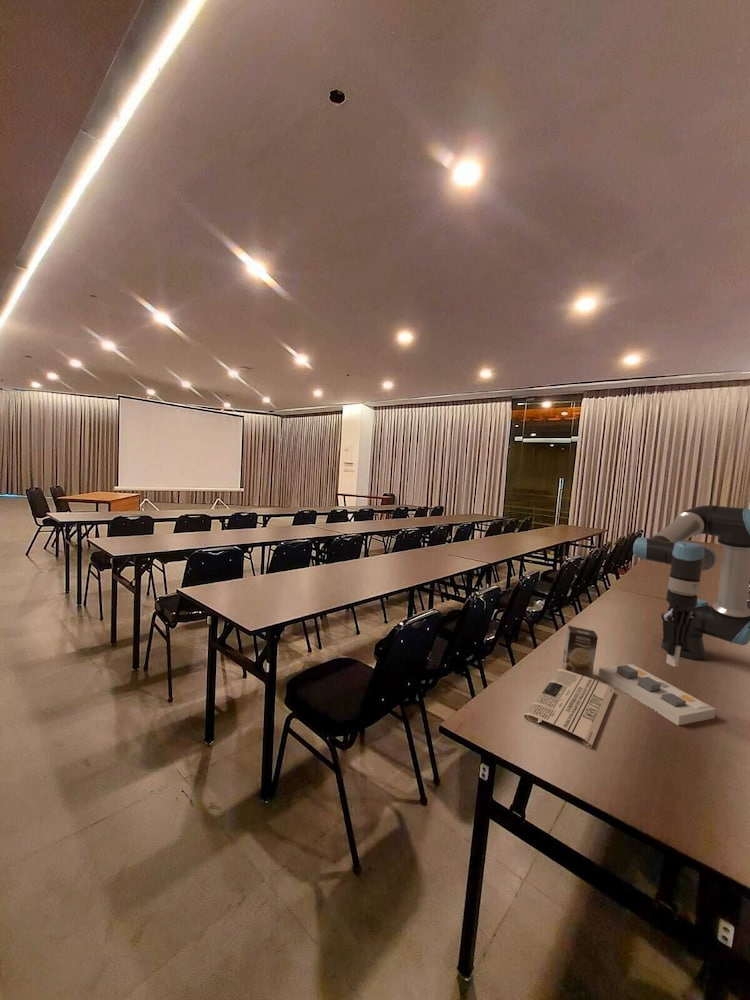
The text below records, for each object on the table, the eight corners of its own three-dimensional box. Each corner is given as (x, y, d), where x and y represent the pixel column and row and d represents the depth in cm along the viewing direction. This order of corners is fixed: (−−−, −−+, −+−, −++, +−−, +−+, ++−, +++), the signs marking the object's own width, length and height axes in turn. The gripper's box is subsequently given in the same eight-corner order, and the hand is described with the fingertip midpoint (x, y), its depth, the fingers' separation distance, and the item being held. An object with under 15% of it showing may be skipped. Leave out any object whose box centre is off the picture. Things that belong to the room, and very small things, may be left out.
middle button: (646, 686, 136) (648, 676, 136) (659, 693, 132) (660, 683, 132) (637, 687, 135) (638, 678, 135) (649, 694, 131) (651, 685, 130)
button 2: (670, 702, 129) (671, 693, 129) (684, 711, 125) (686, 701, 124) (660, 704, 127) (661, 694, 127) (674, 713, 123) (676, 702, 123)
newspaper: (557, 674, 145) (558, 666, 145) (619, 696, 133) (620, 688, 133) (523, 720, 116) (524, 711, 116) (598, 754, 104) (599, 744, 104)
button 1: (625, 673, 144) (626, 665, 144) (636, 680, 140) (638, 671, 139) (616, 675, 142) (617, 666, 142) (627, 681, 138) (628, 672, 138)
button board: (631, 671, 150) (632, 662, 150) (714, 718, 124) (716, 707, 123) (598, 675, 145) (599, 667, 145) (678, 725, 119) (679, 714, 118)
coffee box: (563, 674, 144) (569, 631, 143) (561, 666, 150) (566, 625, 149) (592, 681, 141) (598, 637, 140) (589, 672, 147) (594, 630, 146)
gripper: (680, 597, 119) (669, 672, 121) (709, 595, 123) (698, 668, 126) (655, 589, 126) (645, 660, 128) (684, 587, 130) (673, 656, 133)
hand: (671, 664), depth 127 cm, fingers closed
